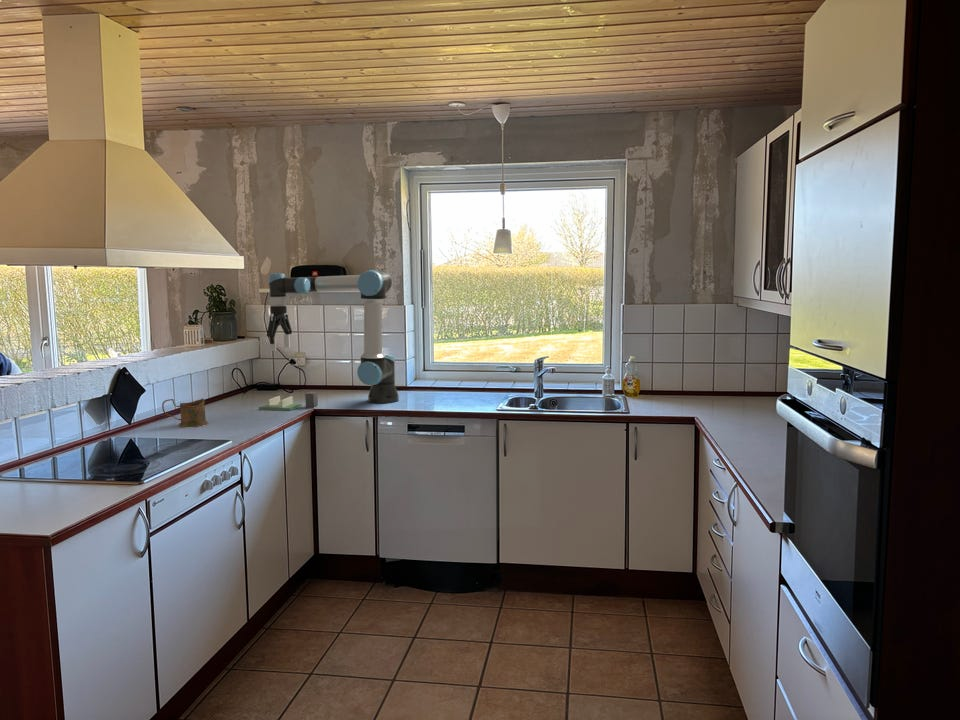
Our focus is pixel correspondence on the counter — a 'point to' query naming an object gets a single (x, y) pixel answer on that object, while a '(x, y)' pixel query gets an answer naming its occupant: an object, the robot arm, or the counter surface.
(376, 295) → the robot arm
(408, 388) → the counter surface
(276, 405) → the board
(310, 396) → the plug
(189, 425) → the mug
